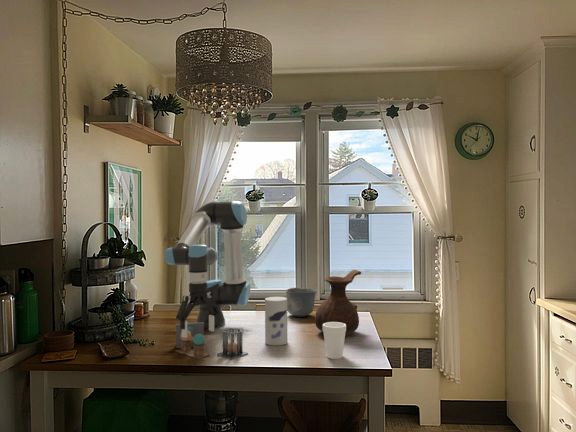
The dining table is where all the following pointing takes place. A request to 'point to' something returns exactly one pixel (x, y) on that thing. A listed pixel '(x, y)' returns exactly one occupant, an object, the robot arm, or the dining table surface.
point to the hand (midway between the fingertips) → (198, 334)
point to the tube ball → (233, 347)
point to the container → (276, 320)
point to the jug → (338, 305)
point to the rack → (192, 350)
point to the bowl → (300, 301)
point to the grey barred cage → (225, 344)
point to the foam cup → (334, 339)
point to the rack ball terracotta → (187, 336)
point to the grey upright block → (193, 328)
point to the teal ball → (198, 339)
